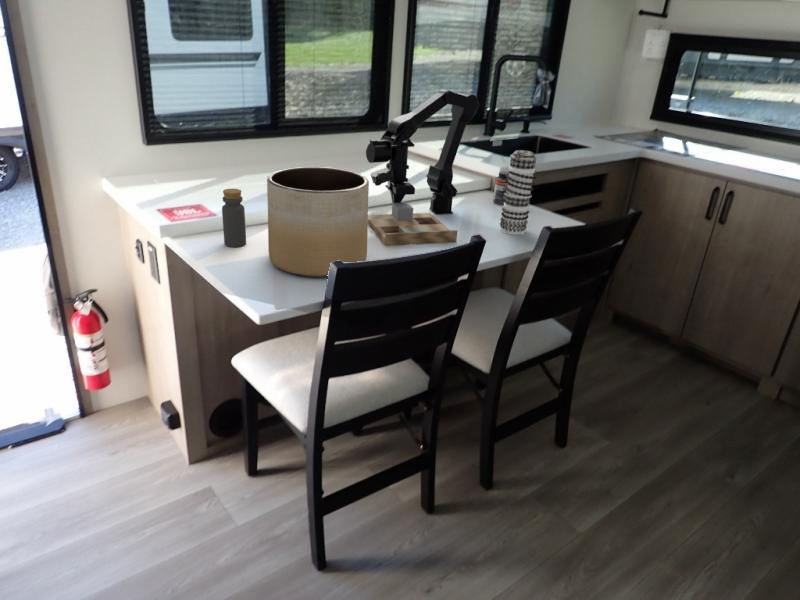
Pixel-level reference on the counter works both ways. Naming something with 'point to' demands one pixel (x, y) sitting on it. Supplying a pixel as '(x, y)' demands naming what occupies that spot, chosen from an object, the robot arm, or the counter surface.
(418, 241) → the wooden compartment tray
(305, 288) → the counter surface
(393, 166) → the robot arm
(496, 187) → the supplement bottle
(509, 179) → the decorative candle
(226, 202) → the bottle
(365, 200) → the planter
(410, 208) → the block
